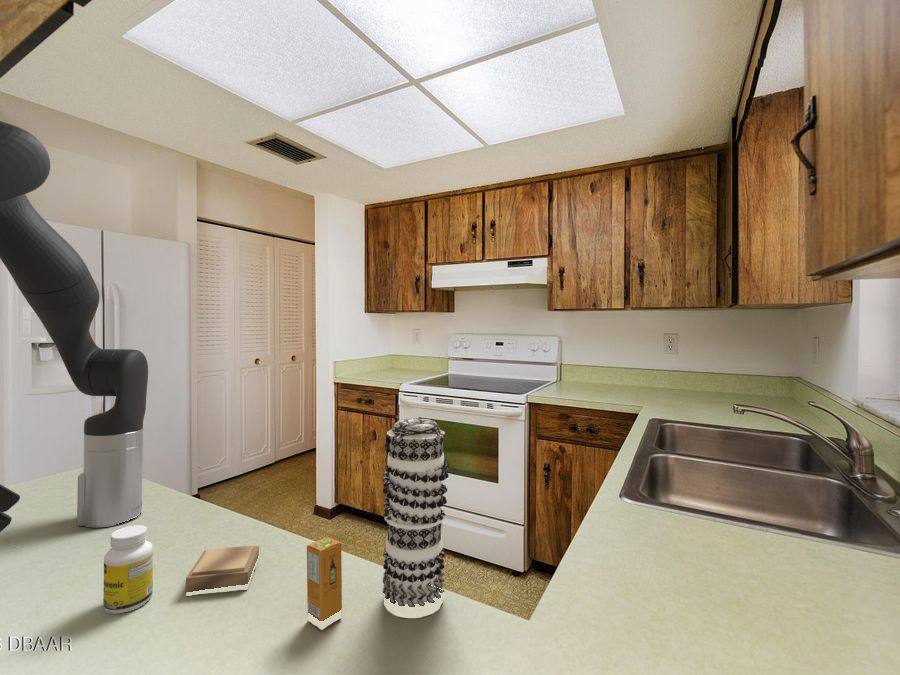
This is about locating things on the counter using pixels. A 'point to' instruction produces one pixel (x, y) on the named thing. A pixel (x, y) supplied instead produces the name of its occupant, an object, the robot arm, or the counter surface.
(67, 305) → the robot arm
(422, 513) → the decorative candle
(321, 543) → the supplement box
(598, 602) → the counter surface
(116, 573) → the supplement bottle
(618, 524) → the counter surface
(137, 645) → the counter surface
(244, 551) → the stand
